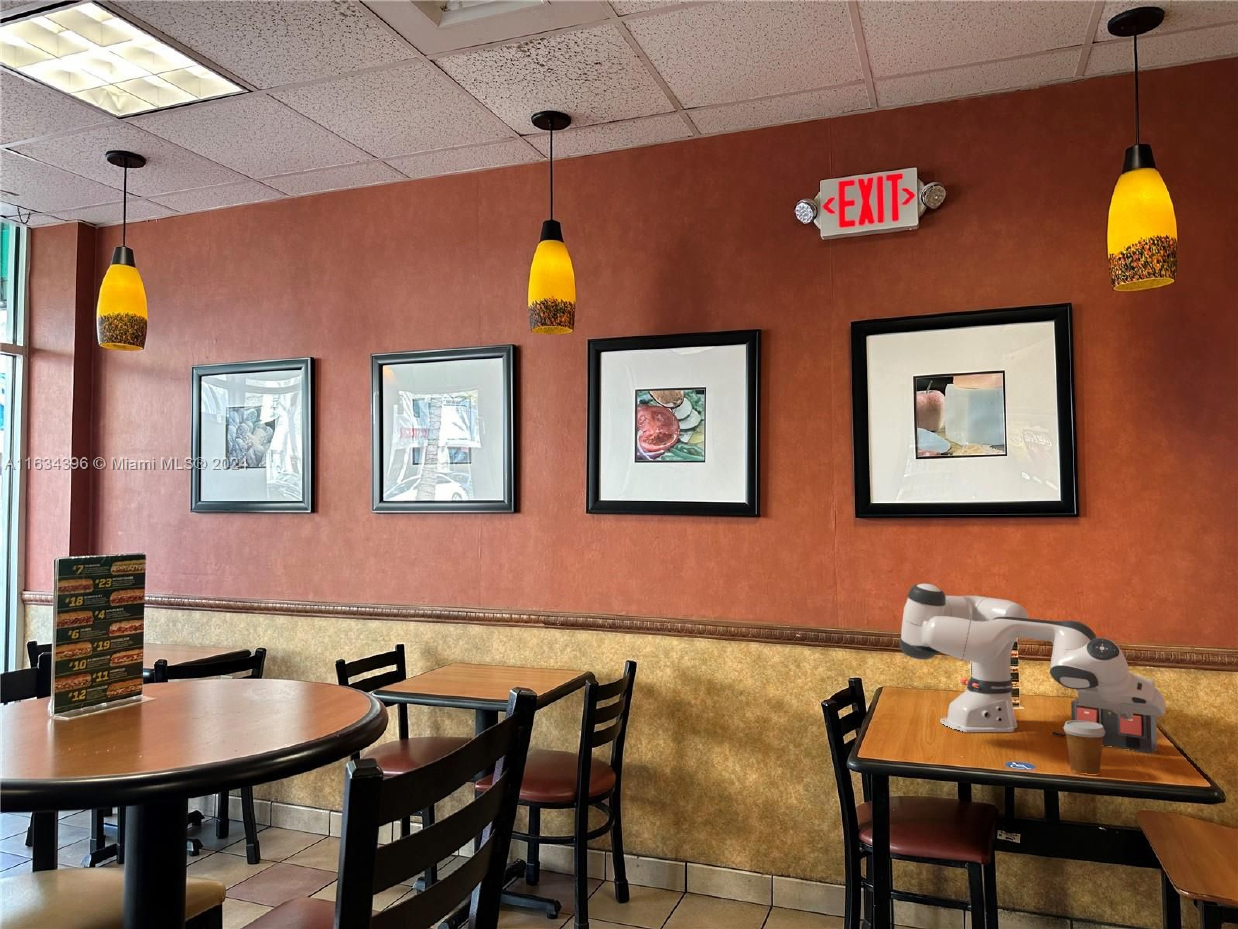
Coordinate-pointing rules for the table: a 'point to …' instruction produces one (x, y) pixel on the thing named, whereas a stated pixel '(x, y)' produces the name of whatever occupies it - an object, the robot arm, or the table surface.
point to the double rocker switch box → (1112, 730)
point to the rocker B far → (1131, 725)
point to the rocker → (1087, 714)
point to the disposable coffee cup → (1084, 745)
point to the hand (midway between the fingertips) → (1125, 716)
